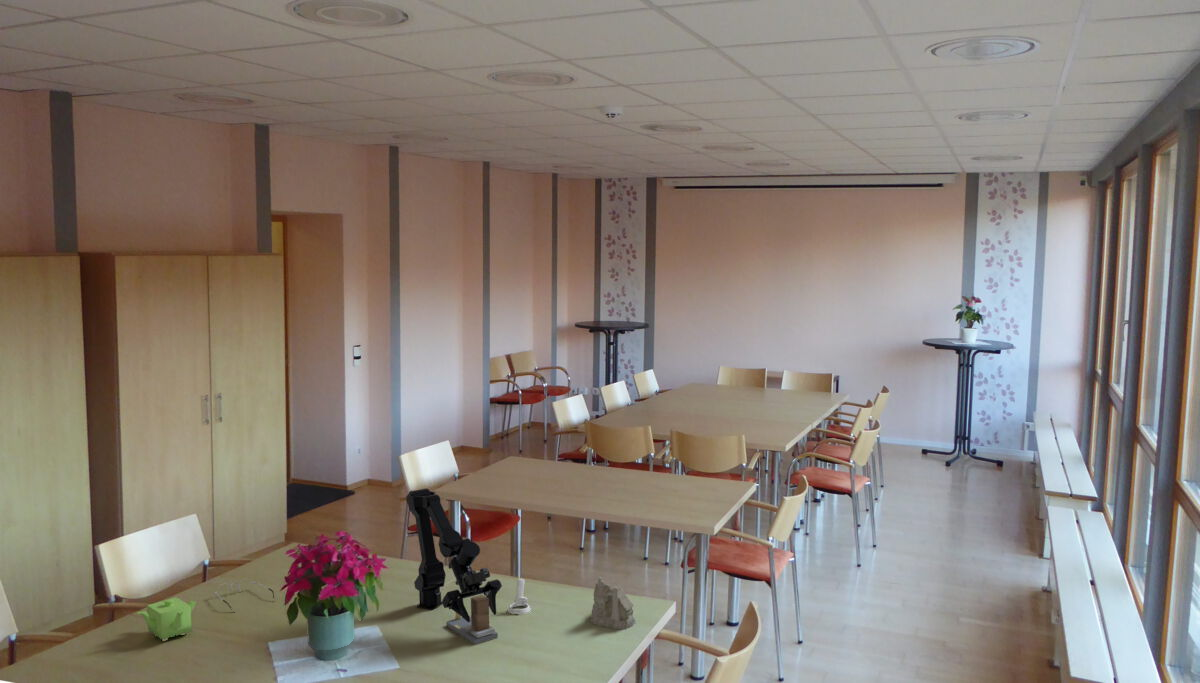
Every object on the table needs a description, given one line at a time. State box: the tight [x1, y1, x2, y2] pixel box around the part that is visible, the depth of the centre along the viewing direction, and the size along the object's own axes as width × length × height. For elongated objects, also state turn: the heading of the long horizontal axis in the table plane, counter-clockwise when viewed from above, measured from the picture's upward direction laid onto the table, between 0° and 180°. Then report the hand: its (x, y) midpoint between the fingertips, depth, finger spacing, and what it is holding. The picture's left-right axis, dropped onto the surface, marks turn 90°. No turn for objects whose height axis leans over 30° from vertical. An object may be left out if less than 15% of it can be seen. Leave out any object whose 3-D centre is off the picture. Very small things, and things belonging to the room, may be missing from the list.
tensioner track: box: [445, 612, 499, 645], centre depth 287 cm, size 18×8×4 cm, turn 38°
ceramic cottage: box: [590, 576, 636, 630], centre depth 297 cm, size 16×16×15 cm
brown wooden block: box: [466, 594, 496, 638], centre depth 282 cm, size 7×6×11 cm
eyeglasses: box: [213, 577, 275, 609], centre depth 316 cm, size 16×19×5 cm
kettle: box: [136, 597, 197, 640], centre depth 286 cm, size 15×14×11 cm
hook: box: [507, 578, 532, 615], centre depth 306 cm, size 8×12×7 cm
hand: (482, 617), depth 281 cm, fingers open, 9 cm apart
